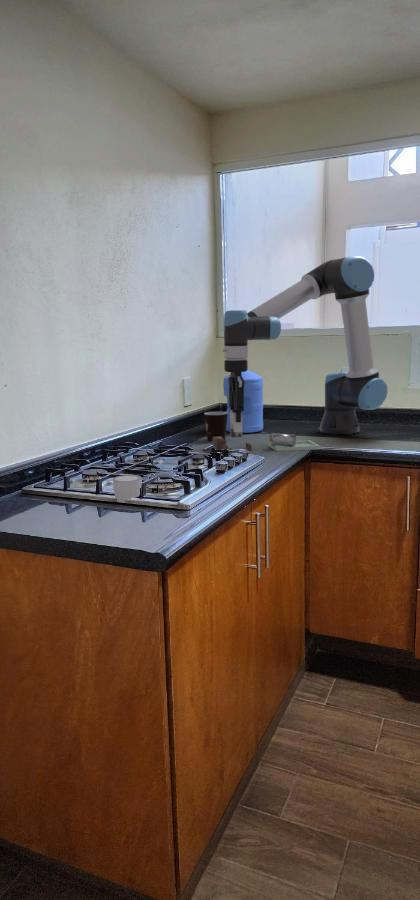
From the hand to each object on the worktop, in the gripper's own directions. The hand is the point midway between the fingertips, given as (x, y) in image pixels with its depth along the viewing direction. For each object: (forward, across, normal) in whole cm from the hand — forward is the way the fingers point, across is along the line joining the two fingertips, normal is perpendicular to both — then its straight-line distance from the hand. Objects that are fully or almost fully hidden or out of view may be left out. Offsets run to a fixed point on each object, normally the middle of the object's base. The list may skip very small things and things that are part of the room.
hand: (236, 430), depth 199 cm
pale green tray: (+7, 0, +20) cm, 21 cm away
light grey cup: (+8, +54, -38) cm, 67 cm away
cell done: (+4, 0, +20) cm, 20 cm away
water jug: (+7, -39, +12) cm, 41 cm away
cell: (+2, 0, 0) cm, 2 cm away
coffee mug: (+7, -22, -2) cm, 23 cm away
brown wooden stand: (+7, 0, 0) cm, 7 cm away
